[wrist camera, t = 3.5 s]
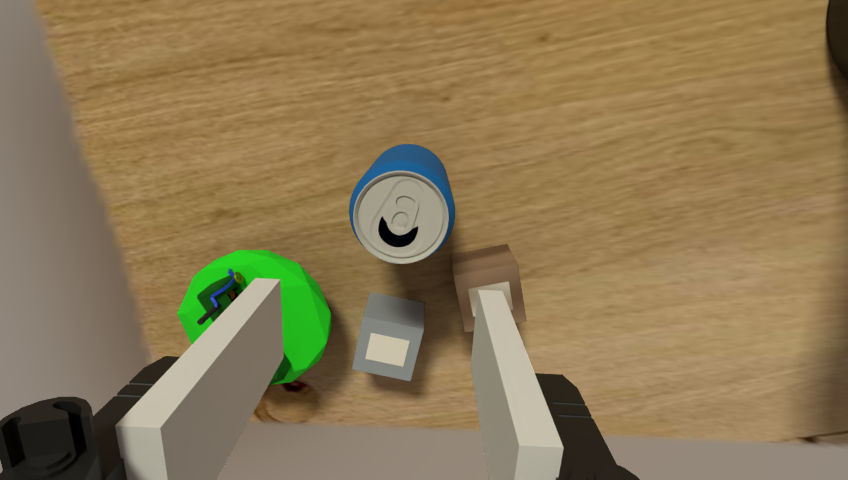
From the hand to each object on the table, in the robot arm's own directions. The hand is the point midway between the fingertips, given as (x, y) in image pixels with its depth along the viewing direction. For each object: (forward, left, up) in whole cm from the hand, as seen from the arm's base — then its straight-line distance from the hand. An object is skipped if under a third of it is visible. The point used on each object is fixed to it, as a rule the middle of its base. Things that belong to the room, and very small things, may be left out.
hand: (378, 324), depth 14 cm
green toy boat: (+11, -12, -25) cm, 30 cm away
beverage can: (0, 0, -25) cm, 25 cm away
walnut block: (+8, +7, -25) cm, 27 cm away
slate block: (+13, -1, -25) cm, 28 cm away
